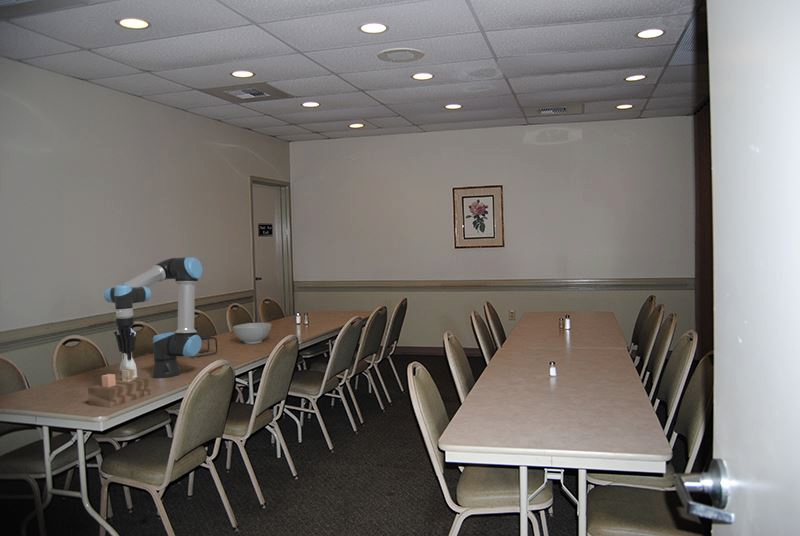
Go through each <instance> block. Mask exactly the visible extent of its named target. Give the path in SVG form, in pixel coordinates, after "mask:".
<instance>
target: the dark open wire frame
mask: <svg viewBox="0 0 800 536" xmlns="http://www.w3.org/2000/svg"><path fill="white" fill-rule="evenodd" d="M197 328H198V327H197V325H196V324H195V323H194V329H195V330H196V331H197V332H198V329H197ZM199 336H200V339H201V341H207V350H205V351H199V352H198V353H201V354H200V355H195V356H192V357H191V358H190V359H195V358H194V357H198V358H203V357H202V356H204V357H208V355H209V356H214V355H216V354H217V353H218V352H219V351H218V350H219V349H218V339H217V338H216V337H214V336H208V335H206V334H205V335H204V334H203V335H199ZM210 340H214V341H215V351H214V352H212V353H208V352H210ZM205 352H206V354H205ZM207 353H208V354H207Z"/></svg>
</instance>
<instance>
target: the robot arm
mask: <svg viewBox="0 0 800 536" xmlns="http://www.w3.org/2000/svg"><path fill="white" fill-rule="evenodd" d="M202 275H203V266H202V263H201V262H200V260H199V259H197V258H195V257H191V256H189V257H171V258H166V259H165V260H162V261H160V262H158V263H156V264H153V265H152V266H151V267H150V269H149V270H146V271H144V272H142V273H140V274H138V275H137V276H135V277H133V278H132V279H131V278H130V279H129V280H127V281H125V282H124V283H123V282H122V283H121V284H118V285H115V286H113V287H108V288H106V289H105V290H104V292H103V293H104V294H103V297H104V300H105V301H106V302H107V303H110V304H111V303H112V304H114V306H115V307H114V308H115V318H116V319H115V321H116V322H115V323H116V326H117V331H114V332H113V334H114V335H115V338H116V342H117V346H118V351H119V352H121V354H122V353H123V356H122V358H123V359H124V367H129V366H131V352H132V353H134V352H135V349H136V340H137V335H138V332H137V331H135V330H134V327H133V325H135V322H134V320H135V319H134V308H133V306H134V305H133V304H138V303H144V302H145V303H146V302H148V301H149V300H150V299H151V297H152V291H151V290H150V288H149V287H150V286H153V285H155V284H156V283H159V282H160V283H161V282H163V281H165V280H175V283H176V284H177V291H178V292H177V329H176V330H175V331H171V332H164V333H160V334H156V335H154V336H153V338H152V350H153V366H152V370H151V377H152V378H156V379H157V378H158V379H161V378H162V379H163V378H171V377H175V376H179V375H181V374H182V369H181V367H180V365H179V362H178V360H177V359H178V358H177V357H182V358H183V357H184V358H190V357H192V356H198V355H199V354H198V352H201V351H200V350H201V348H202V342H203V340H201V339H200V336H201V335H198V330H197V331H196V330H195V329H194V328H195V327H194V324H195V309H196V308H195V307H196V306H195V301H196V300H195V299H196V298H195V296H196V294H195V293H196V292H195V291H196V290H195V289H196V284H198V282H199V279H200V278H202Z"/></svg>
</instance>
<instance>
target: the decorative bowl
mask: <svg viewBox="0 0 800 536" xmlns="http://www.w3.org/2000/svg"><path fill="white" fill-rule="evenodd" d="M232 329H233V332H234V335H236V337H237V338H238V339H239V340H241V341H243V343H244V344H247V345H248V344H250V345H252V344H259V343H262V342H263V340H264V339H266V338H267V336H268V335H269V333H270V332H271V329H272V323H270V322H247V323H241V324H237V325H234V326H233V327H232Z"/></svg>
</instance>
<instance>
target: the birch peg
mask: <svg viewBox="0 0 800 536" xmlns="http://www.w3.org/2000/svg"><path fill="white" fill-rule="evenodd" d="M132 380H135V369H126V370H122V381H127V382H129V381H132Z"/></svg>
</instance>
